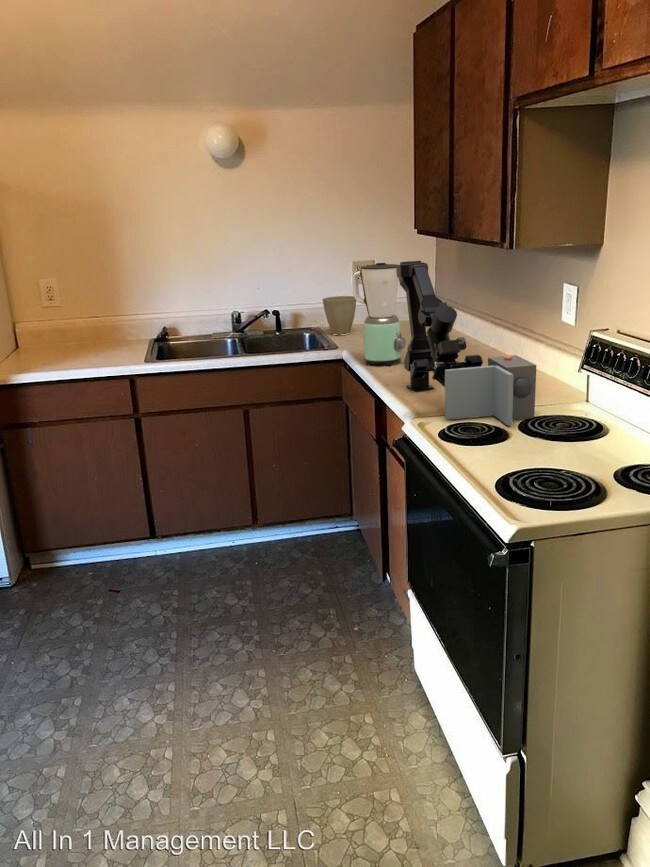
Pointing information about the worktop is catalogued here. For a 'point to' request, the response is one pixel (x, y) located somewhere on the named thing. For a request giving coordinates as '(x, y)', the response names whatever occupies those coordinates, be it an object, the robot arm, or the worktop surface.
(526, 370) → the camera case
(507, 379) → the grey bookend
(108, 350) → the worktop surface
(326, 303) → the plant pot
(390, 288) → the mint green blender
